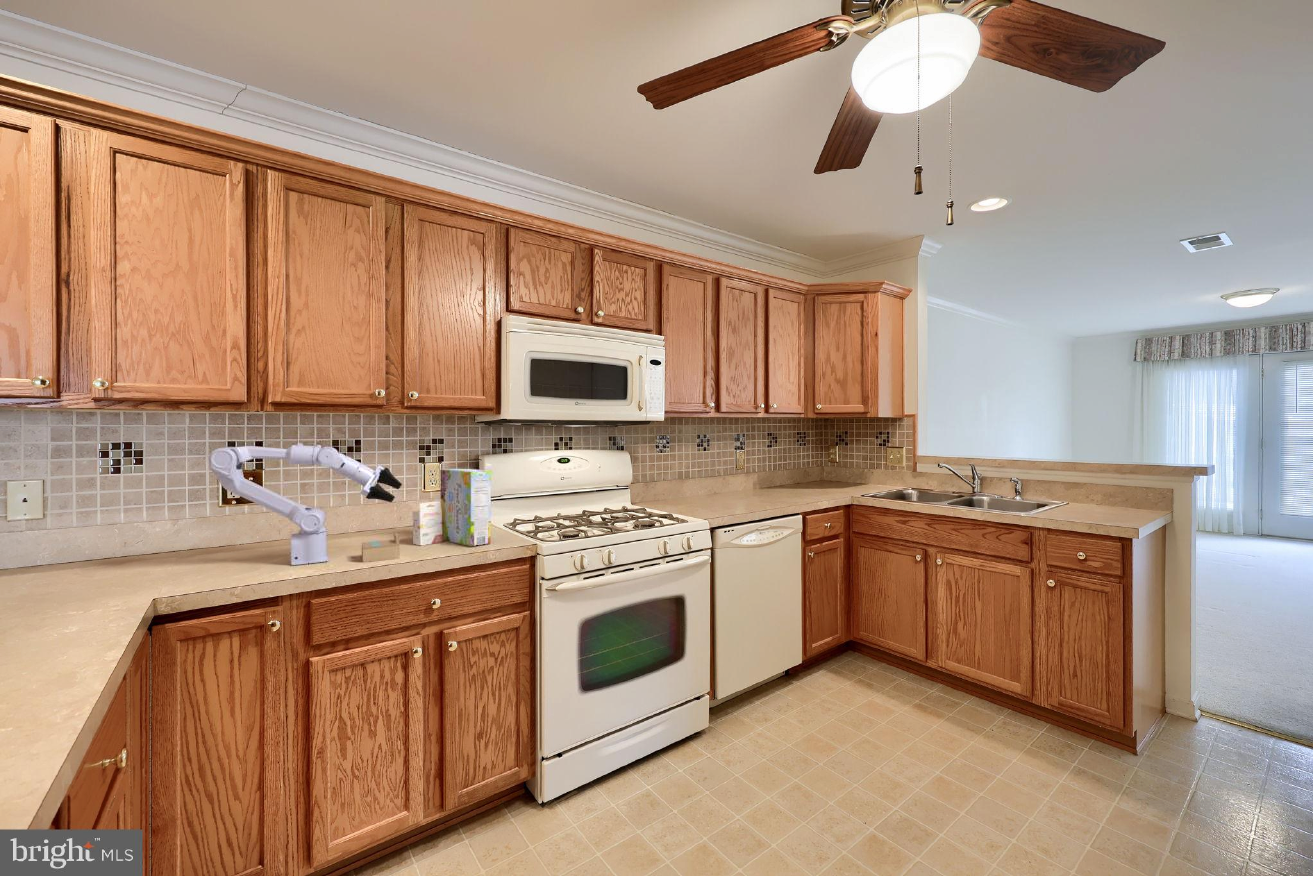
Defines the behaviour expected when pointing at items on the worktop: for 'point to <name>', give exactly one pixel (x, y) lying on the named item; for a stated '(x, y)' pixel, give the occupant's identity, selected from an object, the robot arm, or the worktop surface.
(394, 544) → the mailer lid
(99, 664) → the worktop surface
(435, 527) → the ink cartridge box
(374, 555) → the mailer tray
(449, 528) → the snack box
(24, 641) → the worktop surface
